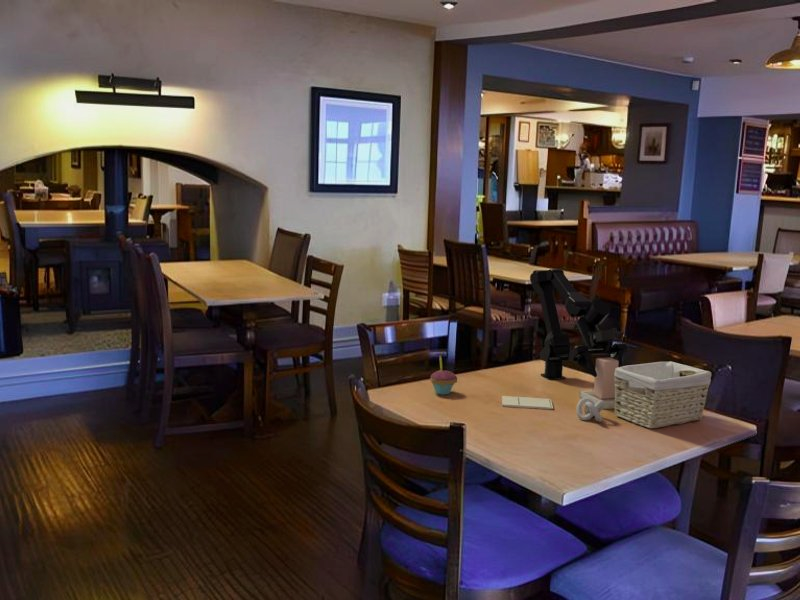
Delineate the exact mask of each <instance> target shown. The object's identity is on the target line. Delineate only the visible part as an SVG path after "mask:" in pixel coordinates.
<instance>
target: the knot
mask: <svg viewBox="0 0 800 600" xmlns="http://www.w3.org/2000/svg"><path fill="white" fill-rule="evenodd" d="M604 405H605V402H604V401H602V400H601V401H599V402H597V403H596V405H595V403H594V401H593V400H592V399H590V398H582V399H581V398H580V400H579V401H578V402H577V404H576V409H575V410H576V415H577V417H578V419H579V420H581V421H585V422H586V421H590V420H591V419H592V418H593V417H595V419H596V421H597V422H598V423H601V422H603V418H602V416H601V414H600V412H601V411H603V410H604V409H603V407H604ZM583 406H584V407H583ZM582 407H583V408H584V414H585V415H584V414H583V411H582Z"/></svg>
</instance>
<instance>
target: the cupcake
mask: <svg viewBox="0 0 800 600" xmlns="http://www.w3.org/2000/svg"><path fill="white" fill-rule="evenodd" d="M430 382H431V383H432V386H433V388H434V391H435V392H434V393H436V394H437V395H443V396H444V395H449V394H451V392H452V389H453V386H454V385H455V384H456V383H457V382H458V377H457V375H456V374H455V373H453V372H452V371H449V370H443V359H442V356H441V355H439V370H436V371H435V372H433V373H431V375H430Z"/></svg>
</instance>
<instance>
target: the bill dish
mask: <svg viewBox="0 0 800 600" xmlns="http://www.w3.org/2000/svg"><path fill="white" fill-rule="evenodd" d="M593 394H594V389H593V390H581V391H579V397H578V398H579V399H580V400H581V399H582V398H590V399H592V400H593V401H594V403H595V405H596V403H597V402H599V401H600V400H598V399H596V398H594V397H593ZM606 409H607V410H609V409H615V401H606V402H605V405H604V407H603V409H602V410H606Z"/></svg>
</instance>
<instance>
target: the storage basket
mask: <svg viewBox="0 0 800 600" xmlns="http://www.w3.org/2000/svg"><path fill="white" fill-rule="evenodd" d="M680 375H682V376H680ZM614 376H615V378H614V382H615V408H614V415H615V416H616V417H619V418H621V419H624V420H626V421H629V422H632V423H633V424H637V425H639V426H642V427H645V428H646V429H647V428H648V429H657V428H661V427H662V428H663V427H669V426H672V425H680V424H681V425H682V424H685V423H689V422H695V421H699V420H702V419H703V413H704V410H705V406H706V401H707V396H708V392H709V388H710V386H711V381H712V379H711V378H712V372H711V371H709V370H704V369H701V368H698V367H695V366H690V365H687V364H681V363H678V362H674V361H671V360H670V361H656V362H655V361H654V362H647V363H640V364H630V365H622V367H618V368H616V369H615V375H614Z"/></svg>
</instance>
